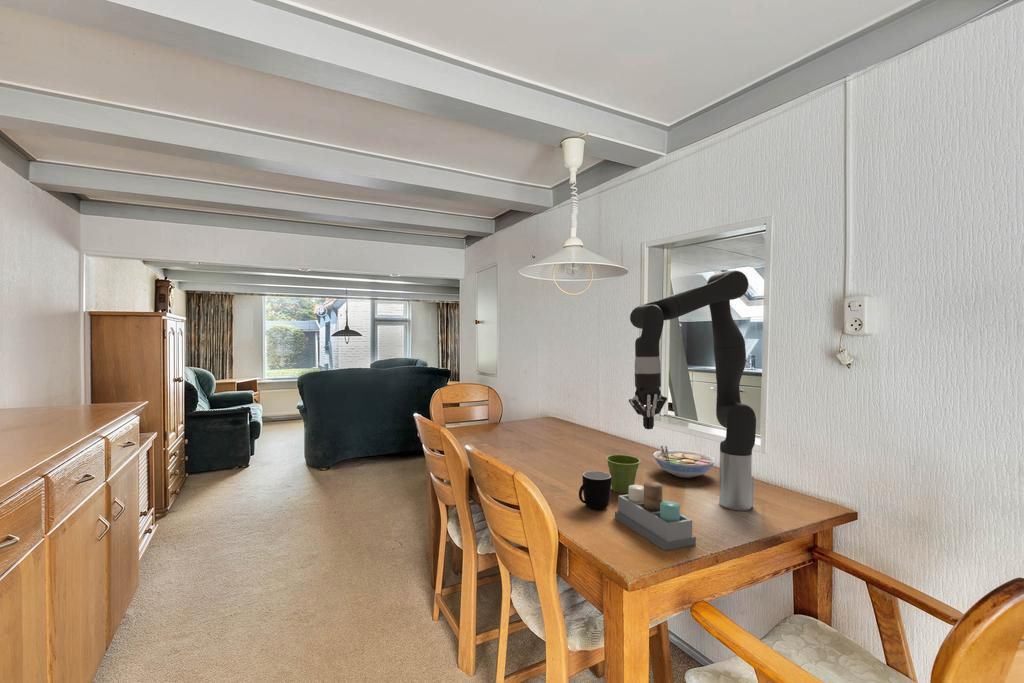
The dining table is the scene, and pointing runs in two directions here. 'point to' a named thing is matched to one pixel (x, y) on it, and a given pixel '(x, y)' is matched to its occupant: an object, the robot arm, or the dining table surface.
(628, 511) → the grey compartment tray
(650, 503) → the brown rounded cylinder
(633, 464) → the plant pot
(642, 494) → the white rounded piece
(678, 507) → the teal rounded cylinder
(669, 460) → the ramen bowl
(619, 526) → the dining table surface
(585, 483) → the mug
